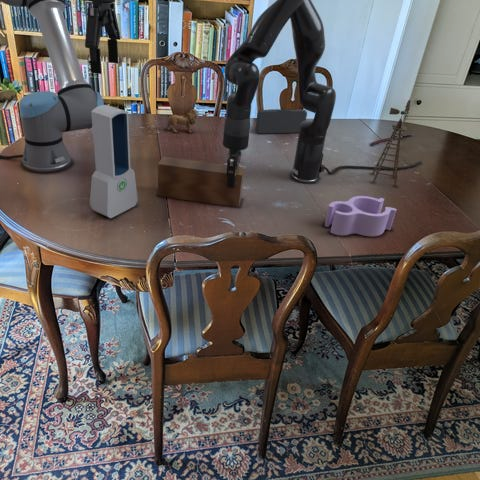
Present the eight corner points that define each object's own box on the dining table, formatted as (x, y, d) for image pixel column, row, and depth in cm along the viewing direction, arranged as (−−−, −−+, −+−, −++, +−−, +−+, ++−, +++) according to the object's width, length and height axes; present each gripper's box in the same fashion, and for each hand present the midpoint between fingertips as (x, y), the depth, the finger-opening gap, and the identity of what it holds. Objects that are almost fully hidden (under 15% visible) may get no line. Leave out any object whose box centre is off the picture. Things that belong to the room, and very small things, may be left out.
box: (158, 196, 148) (157, 163, 142) (163, 187, 153) (163, 156, 147) (238, 207, 146) (242, 175, 140) (241, 198, 151) (244, 167, 145)
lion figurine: (196, 128, 202) (197, 107, 197) (199, 132, 198) (200, 111, 193) (162, 129, 197) (162, 108, 192) (165, 133, 193) (165, 112, 188)
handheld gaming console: (301, 130, 212) (305, 108, 207) (304, 132, 210) (308, 110, 205) (254, 131, 205) (257, 109, 200) (256, 134, 203) (259, 111, 197)
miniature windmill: (395, 186, 170) (420, 105, 154) (372, 182, 171) (394, 101, 155) (394, 176, 177) (417, 97, 161) (371, 173, 178) (392, 94, 162)
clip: (337, 240, 135) (342, 219, 131) (318, 218, 145) (322, 198, 141) (395, 233, 141) (402, 213, 137) (373, 213, 151) (378, 194, 147)
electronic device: (108, 220, 133) (101, 117, 116) (89, 211, 136) (79, 109, 119) (138, 204, 142) (135, 106, 125) (120, 196, 145) (115, 100, 129)
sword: (408, 133, 222) (409, 131, 221) (413, 135, 220) (414, 133, 219) (365, 145, 206) (365, 142, 205) (370, 147, 204) (371, 145, 203)
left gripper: (95, -10, 113) (101, 79, 125) (129, -17, 134) (131, 60, 145) (65, -14, 113) (74, 76, 125) (103, -20, 134) (108, 57, 146)
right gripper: (246, 141, 130) (241, 194, 139) (251, 124, 142) (246, 174, 151) (220, 137, 131) (216, 191, 140) (227, 121, 143) (223, 171, 152)
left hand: (105, 67), depth 135 cm, fingers open, 13 cm apart
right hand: (232, 182), depth 145 cm, fingers closed on box, 6 cm apart
